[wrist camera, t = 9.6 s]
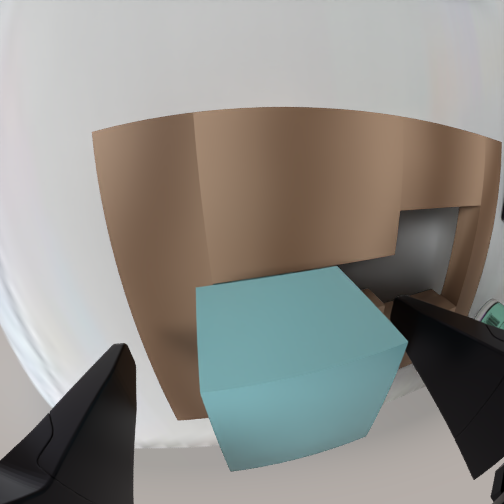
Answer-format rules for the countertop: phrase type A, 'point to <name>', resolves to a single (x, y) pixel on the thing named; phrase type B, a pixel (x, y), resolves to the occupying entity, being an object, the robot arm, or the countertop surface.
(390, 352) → the teal peg
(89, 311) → the countertop surface
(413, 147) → the keyhole plate
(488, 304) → the spray can
